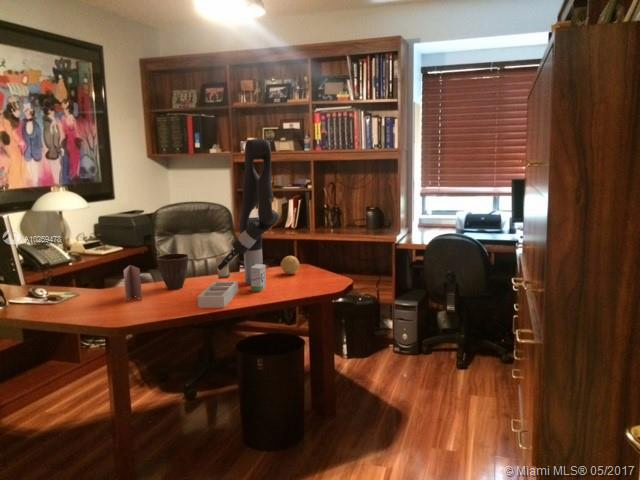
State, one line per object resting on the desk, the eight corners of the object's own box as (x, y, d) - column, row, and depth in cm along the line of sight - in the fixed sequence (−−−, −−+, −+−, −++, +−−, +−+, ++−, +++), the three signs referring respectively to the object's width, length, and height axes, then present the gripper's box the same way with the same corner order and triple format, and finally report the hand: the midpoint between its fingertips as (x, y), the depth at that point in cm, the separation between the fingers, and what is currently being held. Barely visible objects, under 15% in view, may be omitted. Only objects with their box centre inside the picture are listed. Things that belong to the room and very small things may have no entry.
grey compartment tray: (214, 292, 258) (214, 281, 257) (238, 291, 257) (237, 281, 256) (198, 307, 232) (197, 296, 231) (224, 307, 231) (223, 296, 230)
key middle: (211, 292, 247) (211, 289, 247) (229, 292, 247) (229, 289, 246) (208, 295, 241) (207, 293, 241) (226, 295, 241) (225, 293, 240)
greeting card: (130, 295, 255) (128, 264, 252) (146, 295, 256) (144, 264, 253) (124, 302, 244) (121, 270, 241) (141, 301, 244) (138, 269, 242)
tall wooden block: (220, 276, 254) (218, 255, 252) (230, 275, 253) (227, 255, 252) (218, 278, 249) (215, 257, 248) (227, 278, 249) (225, 257, 247)
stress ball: (291, 273, 296) (276, 262, 294) (302, 260, 295) (288, 249, 292) (292, 280, 287) (277, 269, 284) (303, 266, 285) (288, 256, 282)
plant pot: (192, 289, 263) (190, 257, 260) (160, 293, 258) (158, 260, 255) (188, 283, 277) (186, 252, 274) (158, 286, 272) (156, 255, 269)
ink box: (256, 287, 265) (255, 263, 263) (266, 287, 263) (265, 263, 262) (250, 291, 256) (249, 267, 254) (261, 292, 255) (260, 267, 253)
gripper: (241, 233, 254) (218, 258, 257) (235, 239, 240) (210, 265, 243) (253, 244, 255) (229, 269, 258) (247, 250, 241) (222, 277, 244)
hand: (220, 267), depth 251 cm, fingers closed on tall wooden block, 4 cm apart
